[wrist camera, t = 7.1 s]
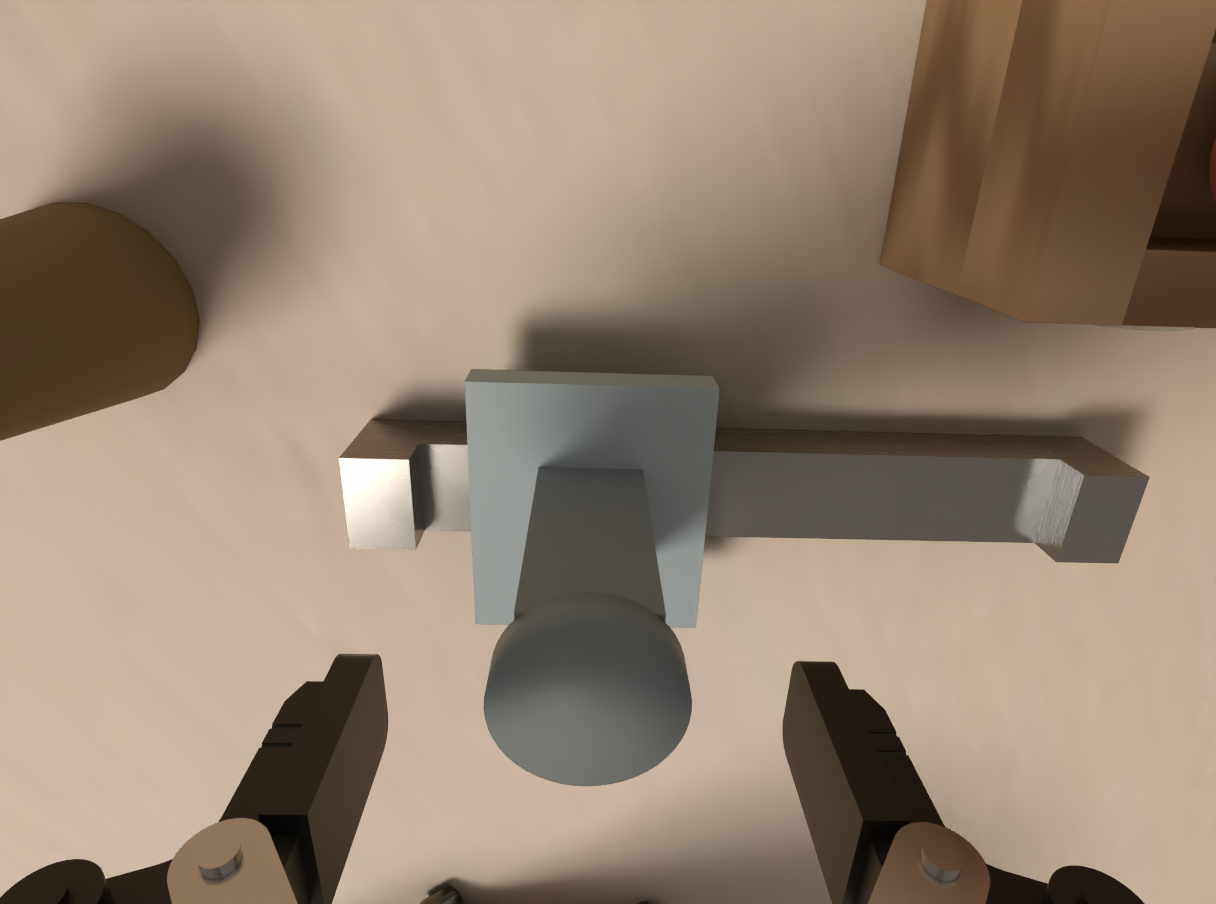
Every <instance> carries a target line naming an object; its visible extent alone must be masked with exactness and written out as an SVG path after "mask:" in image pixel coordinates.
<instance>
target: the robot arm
mask: <svg viewBox="0 0 1216 904" xmlns="http://www.w3.org/2000/svg"><path fill="white" fill-rule="evenodd" d="M387 731H388V711H387V702H386V694H385V685H384V677H383V668H382V661H381V658H380V656H379V655H378V654H339V655H337V656H336V658H335V660H334V661H333V663H332V665H331V668H330V670H329V672H328V674H327V676H326V678H325V680H324V682H312V681H307V682H306V683H305V684H303V685H302V686H301V687H300V688H299V689H298V690H297V691H296V692H295V693H293V694H292V695H291V696H290V697H289V698H288V699H287V700H286V701H285V702H284V704H283V705H282V707H281V709H280V711H279V713H278V715H277V716H276V718H275V720H274V722H273V724H272V729H269V731H268V733H267V735H266V737H265V738H264V740H263V742H262V747H261V748H259V749H258V751H257V753H256V755H255V757H254V759H253V760H252V762H251V764H250V766H249V768H248V770H247V771H246V773H245V775H244V777H243V779H242V781H241V782H240V784H239V786H238V788H237V790H236V792H235V793H234V795H233V797H232V799H231V801H230V803H229V804H228V806H227V808H226V810H225V812H224V814H223V815H222V817H221V819H220V820H219V822H218V823H215V824H213V825H211V826H209V827H207V828H205V829H203V830H201V831H200V832H198V833H197V834H196V835H194V836H193V837H192V838H190V839H189V840H188V841H187V842H186V843H185V844H184V845H183V846H182V847H181V848H180V849H179V851H178V852H177V853H176V855H175V856H174V858H173V859H172V860H169V861H167V862H164V863H161V864H158V865H155V866H151V867H148V868H144V869H141V870H137V871H133V872H130V873H126V874H122V875H119V876H115V877H111V878H108V879H105V876H104V874H103V872H102V870H101V868H100V867H99V866H98V865H97V864H95V863H93V862H91V861H88V860H83V859H73V860H65V861H61V862H57V863H54V864H51V865H48V866H45V867H43V868H41V869H39V870H37V871H35V872H33V873H31V874H30V875H28V876H26V877H25V878H23V879H22V880H20V881H19V882H18V883H16V884H15V885H14V886H12V887H11V888H10V889H9V890H8V891H6V892H5V893H4V894H3V895H2V896H1V897H0V904H332V901H333V898H334V895H335V892H336V889H337V886H338V884H339V881H340V878H341V875H342V872H343V869H344V866H345V863H346V860H347V857H348V854H349V851H350V848H351V845H352V842H353V839H354V836H355V834H356V831H357V828H358V825H359V822H360V819H361V816H362V813H363V810H364V807H365V804H366V801H367V798H368V795H369V792H370V789H371V786H372V784H373V781H374V778H375V775H376V772H377V769H378V766H379V763H380V760H381V757H382V754H383V751H384V748H385V744H386V738H387ZM783 743H784V749H785V754H786V757H787V760H788V764H789V767H790V770H791V773H792V776H793V780H794V783H795V786H796V789H797V792H798V795H799V799H800V802H801V805H802V808H803V811H804V814H805V818H806V821H807V824H808V827H809V830H810V834H811V837H812V840H813V843H814V846H815V849H816V853H817V856H818V859H819V862H820V865H821V868H822V872H823V875H824V878H825V881H826V884H827V888H828V891H829V894H830V897H831V900H832V903H833V904H1144V903H1143V902H1142V900H1141V899H1140V898H1139V897H1138V896H1137V895H1136V894H1134V893H1133V892H1132V891H1131V890H1130V889H1129V888H1127V887H1126V886H1125V885H1123V884H1122V883H1120V882H1119V881H1117V880H1116V879H1114V878H1112V877H1110V876H1108V875H1107V874H1105V873H1102V872H1100V871H1097V870H1095V869H1091V868H1088V867H1083V866H1066V867H1062V868H1060V869H1058V870H1056V871H1055V872H1054V873H1053V875H1052V876H1051V878H1050V880H1049V883H1048V884H1047V883H1043V882H1040V881H1037V880H1033V879H1030V878H1026V877H1023V876H1020V875H1016V874H1013V873H1009V872H1006V871H1003V870H1000V869H997V868H994V867H992V866H990V865H988V864H986V863H985V862H984V860H983V858H982V857H981V855H980V854H979V852H978V851H977V850H976V849H975V848H974V847H973V846H972V845H971V844H970V843H969V842H968V841H967V840H966V839H964V838H963V837H961V836H960V835H959V834H957V833H955V832H954V831H952V830H950V829H948V828H946V827H945V826H944V824H943V822H942V820H941V818H940V816H939V814H938V813H937V811H936V809H935V807H934V805H933V803H932V801H931V799H930V797H929V795H928V793H927V791H926V789H925V787H924V785H923V783H922V781H921V779H920V777H919V775H918V774H917V772H916V770H915V768H914V766H913V764H912V762H911V760H910V758H909V756H908V755H906V750H905V748H904V746H903V744H902V742H901V740H900V738H899V737H897V736H896V731H895V729H894V727H893V725H892V723H891V721H890V719H889V717H888V715H887V713H886V711H885V709H884V708H883V707H882V706H880V705H879V704H878V703H877V702H876V701H875V700H874V699H873V698H872V697H871V696H870V695H869V694H868V693H867V692H866V691H865V690H855V689H848V687H847V684H846V682H845V680H844V678H843V676H842V674H841V672H840V669H839V667H838V666H837V664H836V663H835V662H809V661H797V662H795V663H794V665H793V668H792V673H791V678H790V684H789V690H788V695H787V701H786V707H785V713H784V718H783Z"/></svg>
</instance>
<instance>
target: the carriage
mask: <svg viewBox="0 0 1216 904" xmlns="http://www.w3.org/2000/svg"><path fill="white" fill-rule="evenodd" d="M719 392H720V388H719V386H718V384H717V382H716V380H715V379H714V377H713V376H700V375H664V374H628V373H591V372H555V371H519V370H483V369H471V371H470V373H469V375H468V376H467V378H466V380H465V400H466V422H467V444H468V466H469V488H470V511H471V533H472V555H473V577H474V599H475V622H476V624H487V625H509V626H508V627H507V628H506V629H505V631H504V632H503V633H502V635H501V637H500V638H499V640H498V642H497V644H496V647H495V649H494V652H493V656H492V661H491V666H490V671H489V676H488V681H487V686H486V691H485V696H484V714H485V720H486V723H487V727H488V730H489V732H490V734H491V736H492V738H493V740H494V741H495V743H496V744H497V746H498V747H499V748H500V749H501V751H502V752H503V753H504V754H505V755H506V756H507V757H508V758H509V759H510V760H512V761H513V762H514V763H515V764H517V765H518V766H520V767H521V768H523V769H524V770H526V771H528V772H530V773H532V774H534V775H536V776H538V777H541V778H543V779H546V780H549V781H553V782H557V783H561V784H567V785H574V786H600V785H607V784H613V783H617V782H621V781H625V780H628V779H631V778H634V777H636V776H638V775H640V774H643V773H645V772H647V771H648V770H650V769H652V768H653V767H655V766H656V765H658V764H659V763H660V762H662V761H663V760H664V759H665V758H666V757H667V756H668V755H669V754H670V753H671V752H672V751H673V750H674V749H675V748H676V747H677V745H678V744H679V742H680V741H681V739H682V738H683V736H684V734H685V732H686V730H687V727H688V724H689V721H690V716H691V711H692V698H691V692H690V686H689V680H688V675H687V669H686V664H685V658H684V654H683V651H682V648H681V645H680V643H679V641H678V639H677V637H676V635H675V634H674V632H673V631H672V630H671V628H670V627H676V628H696V622H697V612H698V602H699V592H700V582H701V572H702V562H703V552H704V542H705V532H706V522H707V512H708V502H709V492H710V482H711V472H712V462H713V452H714V442H715V432H716V422H717V412H718V402H719Z"/></svg>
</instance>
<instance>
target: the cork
mask: <svg viewBox="0 0 1216 904" xmlns="http://www.w3.org/2000/svg"><path fill="white" fill-rule="evenodd" d="M198 322H199V319H198V315H197V310H196V306H195V302H194V297H193V293H192V289H191V287H190V285H189V284H188V282H187V280H186V278H185V277H184V275H183V273H182V271H181V269H180V268H179V266H178V264H177V262H176V260H175V259H174V258H173V257H172V256H171V255H170V254H169V253H168V252H167V250H166V249H165V248H164V247H163V246H162V245H161V244H160V243H159V242H158V241H157V240H156V239H155V238H154V237H153V236H152V235H151V234H150V233H149V232H147V231H146V230H144V229H143V228H141V227H139V226H138V225H136V224H135V223H133V222H131V221H130V220H128V219H127V218H125V217H123V216H122V215H120V214H119V213H116V212H112V211H109V210H106V209H102V208H99V207H96V206H92V205H89V204H86V203H51V204H48V205H44V206H41V207H38V208H35V209H32V210H29V211H25V212H22V213H19V214H16V215H13V216H10V217H6V218H3V219H0V441H1V440H4V439H7V438H11V437H14V436H17V435H20V434H24V433H27V432H30V431H33V430H36V429H40V428H43V427H46V426H49V425H53V424H56V423H59V422H62V421H66V420H69V419H72V418H75V417H78V416H82V415H85V414H88V413H91V412H95V411H98V410H101V409H104V408H108V407H111V406H114V405H117V404H121V403H124V402H127V401H130V400H133V399H137V398H140V397H143V396H145V395H148V394H151V393H154V392H157V391H160V390H163V389H165V388H166V387H167V386H168V385H169V384H171V383H172V382H173V381H174V380H175V379H176V378H178V377H179V376H180V375H181V374H182V373H183V372H184V371H185V369H186V367H187V365H188V363H189V361H190V359H191V357H192V355H193V353H194V351H195V349H196V343H197V333H198Z"/></svg>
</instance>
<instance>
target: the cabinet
mask: <svg viewBox="0 0 1216 904" xmlns="http://www.w3.org/2000/svg"><path fill="white" fill-rule="evenodd" d="M1215 138H1216V0H927V3H926V9H925V14H924V20H923V26H922V31H921V37H920V42H919V48H918V54H917V59H916V65H915V70H914V76H913V82H912V87H911V93H910V98H909V104H908V110H907V115H906V121H905V126H904V132H903V138H902V143H901V149H900V154H899V160H898V166H897V171H896V177H895V182H894V188H893V194H892V199H891V205H890V210H889V216H888V222H887V227H886V233H885V238H884V244H883V250H882V255H881V261H880V265H881V266H884V267H887V268H889V269H892V270H894V271H897V272H899V273H902V274H904V275H907V276H909V277H912V278H915V279H917V280H920V281H922V282H925V283H927V284H930V285H932V286H935V287H937V288H940V289H942V290H945V291H948V292H950V293H953V294H955V295H958V296H960V297H963V298H965V299H968V300H970V301H973V302H976V303H978V304H981V305H983V306H986V307H988V308H991V309H993V310H996V311H998V312H1001V313H1003V314H1006V315H1009V316H1011V317H1014V318H1016V319H1019V320H1021V321H1024V322H1030V323H1063V324H1090V325H1098V326H1106V327H1115V328H1125V329H1138V330H1157V331H1176V330H1188V329H1193V328H1216V202H1215V200H1214V197H1213V194H1212V190H1211V186H1210V177H1209V169H1210V158H1211V152H1212V148H1213V145H1214V141H1215Z"/></svg>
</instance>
